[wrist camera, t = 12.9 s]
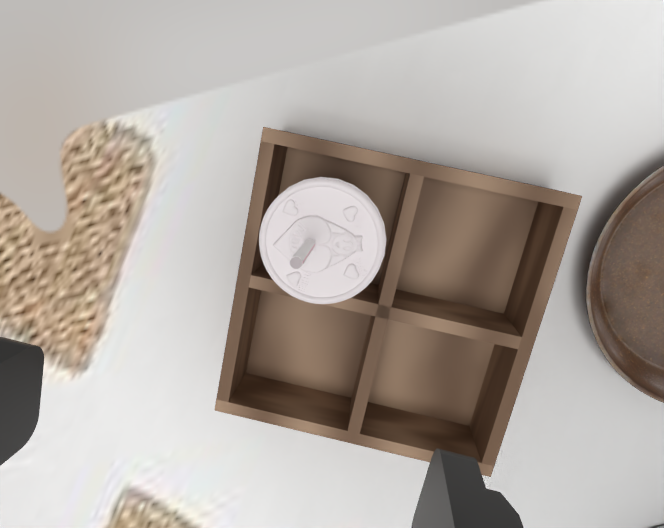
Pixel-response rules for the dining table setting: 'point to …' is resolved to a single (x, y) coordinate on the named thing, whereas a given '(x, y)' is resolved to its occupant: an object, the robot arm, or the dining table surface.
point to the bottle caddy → (399, 307)
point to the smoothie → (322, 240)
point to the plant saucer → (632, 287)
